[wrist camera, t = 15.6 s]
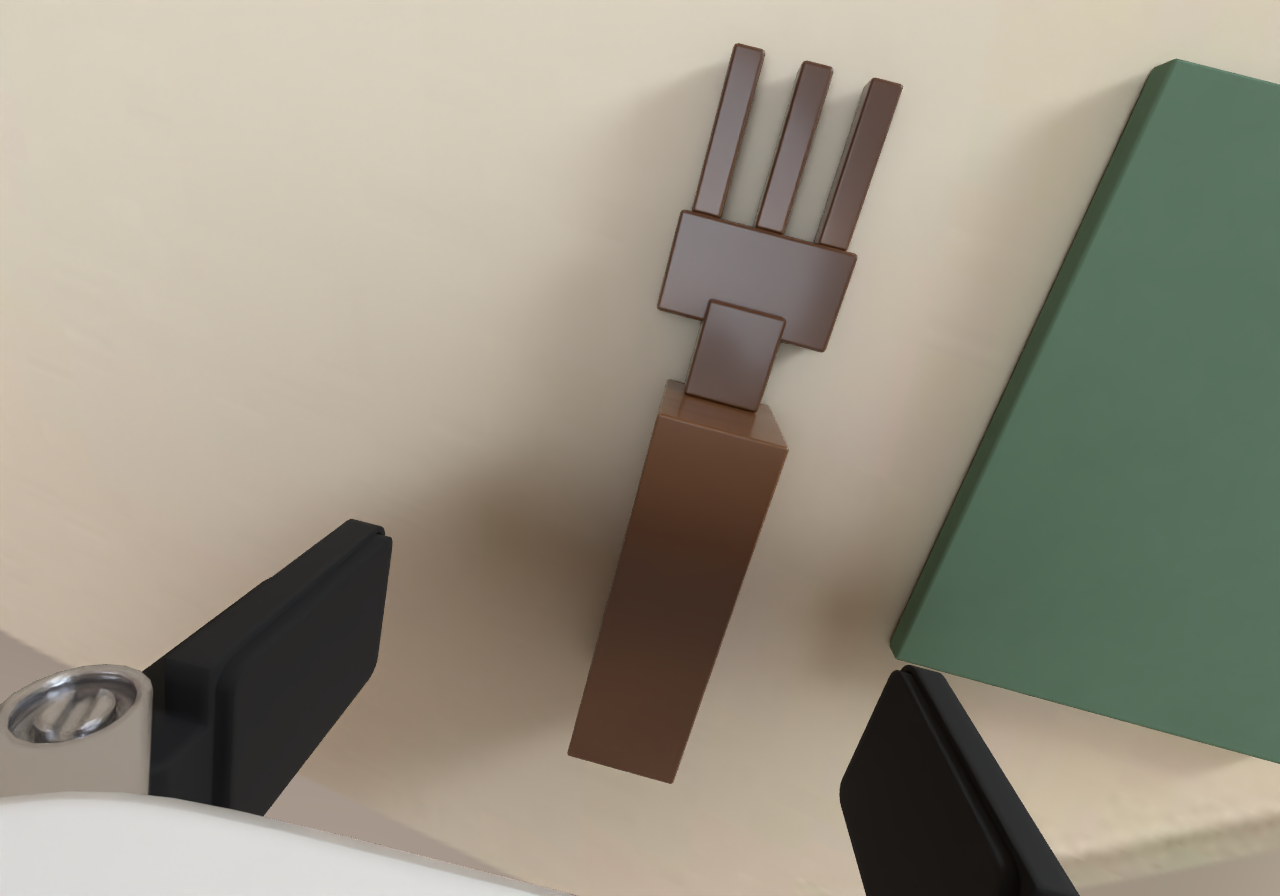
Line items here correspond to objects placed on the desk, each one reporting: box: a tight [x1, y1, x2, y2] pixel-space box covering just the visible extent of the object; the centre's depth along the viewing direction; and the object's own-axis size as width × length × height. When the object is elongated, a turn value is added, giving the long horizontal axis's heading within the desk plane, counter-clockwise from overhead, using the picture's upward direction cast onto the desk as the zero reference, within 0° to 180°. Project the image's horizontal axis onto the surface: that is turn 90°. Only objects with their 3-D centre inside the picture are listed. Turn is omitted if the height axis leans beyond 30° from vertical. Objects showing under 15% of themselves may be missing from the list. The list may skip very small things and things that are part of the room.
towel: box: [889, 59, 1280, 764], centre depth 13 cm, size 13×10×1 cm
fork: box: [567, 43, 903, 784], centre depth 12 cm, size 14×4×3 cm, turn 166°
